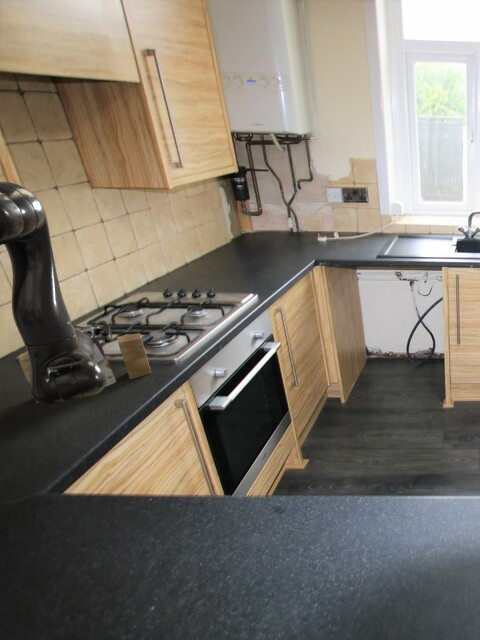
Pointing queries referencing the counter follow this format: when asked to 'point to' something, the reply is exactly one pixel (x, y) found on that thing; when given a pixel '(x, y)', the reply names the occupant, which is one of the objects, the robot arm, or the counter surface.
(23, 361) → the birch block
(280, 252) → the counter surface
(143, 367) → the birch block
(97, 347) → the coffee box
